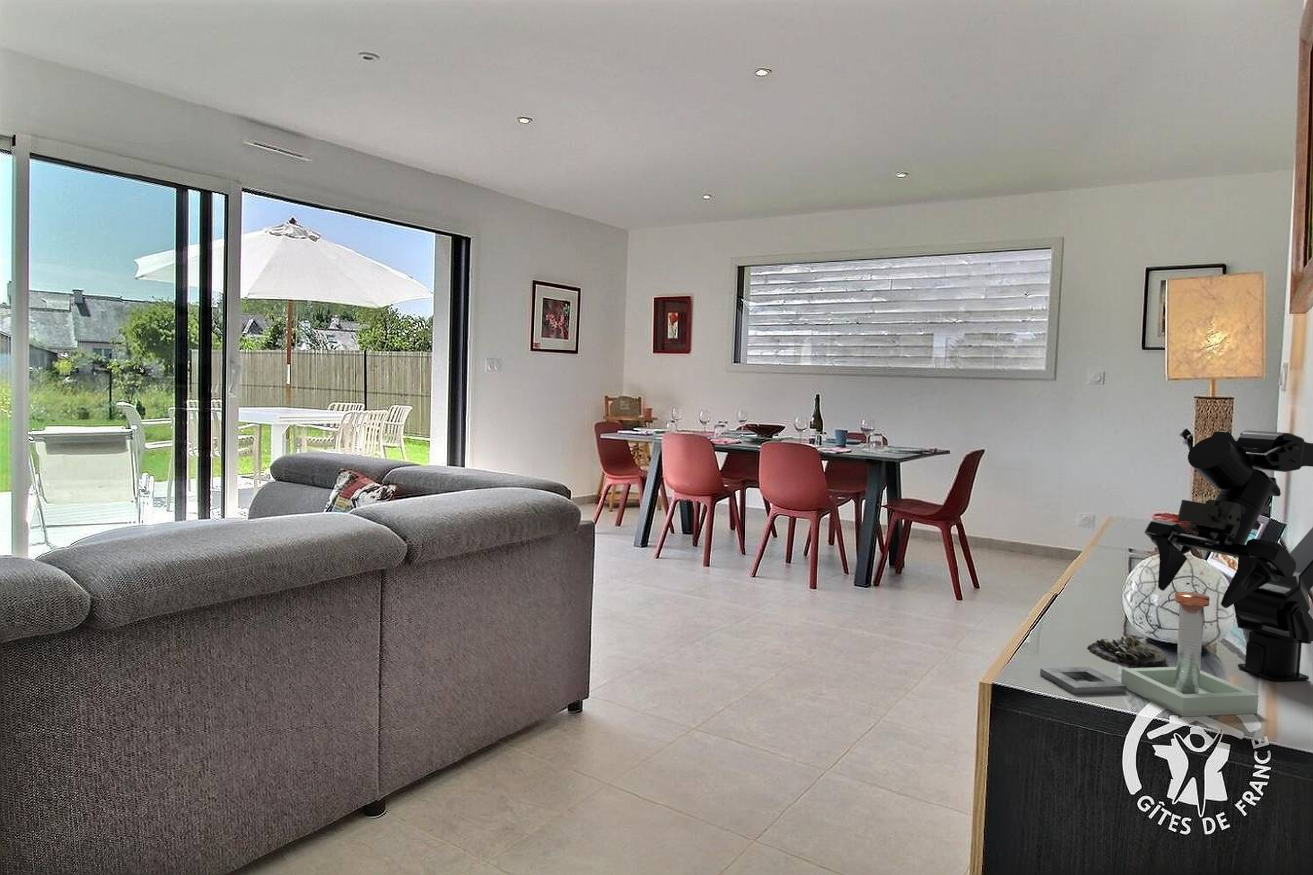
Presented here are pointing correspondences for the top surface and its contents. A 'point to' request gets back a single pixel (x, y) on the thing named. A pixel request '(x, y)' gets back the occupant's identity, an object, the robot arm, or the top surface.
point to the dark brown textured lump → (1129, 652)
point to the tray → (1209, 701)
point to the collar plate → (1097, 685)
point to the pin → (1189, 641)
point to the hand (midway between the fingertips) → (1190, 597)
